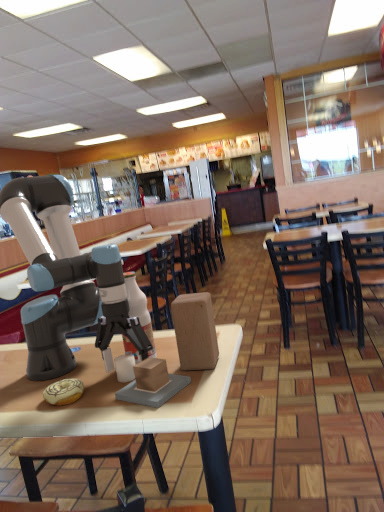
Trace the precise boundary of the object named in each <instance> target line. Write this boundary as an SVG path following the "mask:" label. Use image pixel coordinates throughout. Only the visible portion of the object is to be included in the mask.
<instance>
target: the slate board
mask: <svg viewBox="0 0 384 512" xmlns="http://www.w3.org/2000/svg"><path fill="white" fill-rule="evenodd" d="M168 376H169V382H168V383H166V384H165V385H164V386H162V387H161V388H159V389H158V390H157V391H155V392H153V391H147V390H142V389H137V386H136V381H135V380H132V381H131V382H130V383H128V384H127V385H125V386H124V387H122V388H121V389H119V390H118V391H116V392H114V397H115V400H118V401H119V400H120V401H123V402H128V403H132V404H137V405H142V406H148V407H151V408H157V409H159V408H160V407H161V406H163V405H164V404H165V403H166V402H167V401H169V400H170V399H172V397H174V396H175V395H176V394H178V393H180V391H182V390H183V389H184V388H186V387H187V386H189V384H191V383H192V379H191V376H189V375H183V374H182V375H181V374H174V373H169V372H168Z"/></svg>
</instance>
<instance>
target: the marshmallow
mask: <svg viewBox="0 0 384 512" xmlns="http://www.w3.org/2000/svg"><path fill="white" fill-rule="evenodd" d="M113 363H114V368H115V372H116V378H117V381H118V382H119V383H129V382H133V381H135V375H134V369H133V366H134V365H135V359H134V355H132V354H125V353H124V354H121V355H118V356H116V357H115V358H114V359H113Z"/></svg>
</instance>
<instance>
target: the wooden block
mask: <svg viewBox="0 0 384 512" xmlns="http://www.w3.org/2000/svg"><path fill="white" fill-rule="evenodd" d="M170 309H171V316H172V323H173V329H174V334H175V339H176V342H175V343H176V347H177V352H178V358H179V360H178V361H179V365H180V369H181V371H196V370H197V371H198V370H213V369H215V367H216V364H217V362H218V359H219V356H220V350H219V343H218V335H217V329H216V322H215V316H214V309H213V301H212V296H211V293H210V292H208V291H206V292H195V293H184V294H179V295H178V296H176V297H175V299H174V300H173V301H172V302H171V303H170Z"/></svg>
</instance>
